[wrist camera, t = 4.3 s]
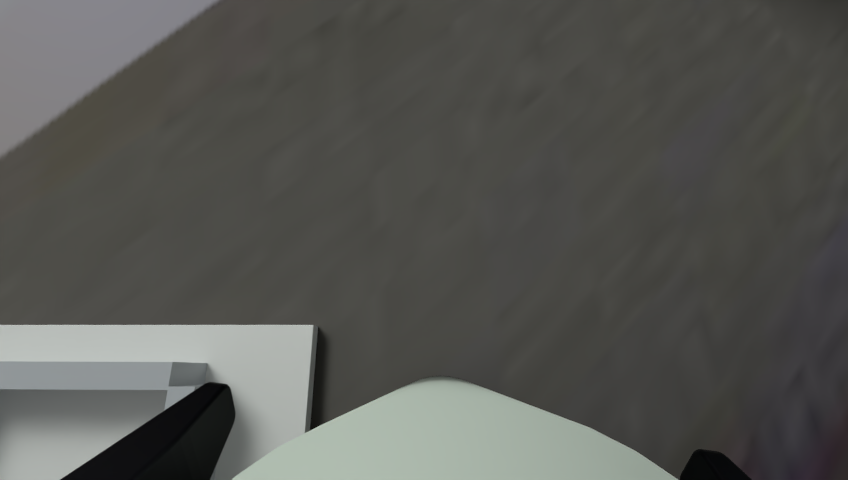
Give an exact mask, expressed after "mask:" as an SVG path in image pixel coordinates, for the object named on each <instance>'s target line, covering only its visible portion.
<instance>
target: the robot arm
mask: <svg viewBox="0 0 848 480" xmlns="http://www.w3.org/2000/svg"><path fill="white" fill-rule="evenodd" d="M235 414H236V413H235V407H234V402H233V397H232V393H231V388H230V387H229V386H228V384H223V383H216V382H208V383H205V384H203V385H202V386H200V387H199V388H197V389H196V390H194V391H193V392H191V393H190V394H188V395H187V396H185V397H184V398H182V399H181V400H179V401H178V402H176V403H175V404H173V405H172V406H170V407H169V408H167V409H166V410H164V411H163V412H161V413H160V414H158V415H157V416H155V417H154V418H152V419H151V420H149V421H148V422H146V423H145V424H143V425H142V426H140V427H138V428H137V429H135V430H134V431H132V432H131V433H129V434H128V435H126V436H125V437H123V438H122V439H120V440H119V441H117V442H116V443H114V444H113V445H111V446H110V447H108V448H107V449H105V450H104V451H102V452H101V453H99V454H98V455H96V456H95V457H93V458H92V459H90V460H89V461H87V462H86V463H84V464H83V465H81V466H80V467H78V468H77V469H75V470H74V471H72V472H71V473H69V474H68V475H66V476H65V477H63V478H62V479H60V480H210V479H211V477H212V474H213V472H214V469H215V467H216V465H217V462H218V460H219V457H220V455H221V453H222V450H223V448H224V446H225V443H226V441H227V438H228V436H229V434H230V431H231V429H232V427H233V424H234V421H235ZM680 480H752V479H750V478H749V477H748V476H747V475H746V474H745V473H744V472H743V471H742V470H741V469H740V468H739V467H737V466H736V465H735V464H734V463H733V462H732V461H731V460H730V459H729V458H728V457H726V456H725V455H724V454H722V453H720V452H717V451H710V450H703V449H698V450H696V451H694V452H693V454H692V456H691V457H690V459H689V461H688V463H687V464H686V466H685V468H684V470H683V471H682V473H681V476H680Z"/></svg>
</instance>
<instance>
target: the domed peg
mask: <svg viewBox="0 0 848 480" xmlns="http://www.w3.org/2000/svg"><path fill="white" fill-rule="evenodd" d="M232 480H678V479H676V478H675V477H673V476H672V475H671V474H669V473H668V472H666V471H665V470H663V469H662V468H660V467H659V466H657V465H656V464H654V463H653V462H651V461H650V460H648V459H647V458H645V457H644V456H642V455H641V454H639V453H638V452H636V451H635V450H633V449H631V448H629V447H627V446H625V445H623V444H621V443H619V442H617V441H615V440H613V439H611V438H609V437H607V436H605V435H603V434H601V433H599V432H597V431H595V430H593V429H591V428H589V427H587V426H584V425H581V424H579V423H576V422H573V421H571V420H568V419H565V418H563V417H560V416H557V415H555V414H552V413H549V412H547V411H544V410H541V409H539V408H536V407H533V406H531V405H528V404H525V403H523V402H520V401H518V400H515V399H512V398H510V397H507V396H504V395H502V394H499V393H496V392H494V391H491V390H488V389H486V388H483V387H480V386H478V385H475V384H472V383H470V382H467V381H464V380H462V379H459V378H455V377H450V376H432V377H427V378H423V379H420V380H417V381H415V382H413V383H411V384H408V385H406V386H404V387H402V388H400V389H398V390H395V391H393V392H391V393H389V394H387V395H385V396H383V397H380V398H378V399H376V400H374V401H372V402H370V403H367V404H365V405H363V406H361V407H359V408H357V409H355V410H352V411H350V412H348V413H346V414H344V415H342V416H340V417H337V418H335V419H333V420H331V421H329V422H327V423H324V424H322V425H320V426H318V427H316V428H314V429H312V430H310V431H308V432H306V433H305V434H303V435H301V436H299V437H297V438H295V439H293V440H291V441H289V442H287V443H285V444H283V445H281V446H279V447H277V448H276V449H274V450H273V451H271V452H270V453H268V454H267V455H266V456H264V457H263V458H261V459H260V460H258V461H257V462H255V463H254V464H252V465H251V466H250V467H248V468H247V469H245V470H244V471H242V472H241V473H239V474H238V475H236V476H235V477H234V478H233V479H232Z"/></svg>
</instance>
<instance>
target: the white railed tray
mask: <svg viewBox="0 0 848 480" xmlns="http://www.w3.org/2000/svg"><path fill="white" fill-rule="evenodd" d="M317 334H318V327H317V326H315V325H0V480H60V479H62V478H63V477H65V476H66V475H68V474H69V473H71V472H72V471H74V470H75V469H77V468H78V467H80V466H81V465H83V464H84V463H86V462H87V461H89V460H90V459H92V458H93V457H95V456H96V455H98V454H99V453H101V452H102V451H104V450H105V449H107V448H108V447H110V446H111V445H113V444H114V443H116V442H117V441H119V440H120V439H122V438H123V437H125V436H126V435H128V434H129V433H131V432H132V431H134V430H135V429H137V428H138V427H140V426H142V425H143V424H145V423H146V422H148V421H149V420H151V419H152V418H154V417H155V416H157V415H158V414H160V413H161V412H163V411H164V410H166V409H167V408H169V407H170V406H172V405H173V404H175V403H176V402H178V401H179V400H181V399H182V398H184V397H185V396H187V395H188V394H190V393H191V392H193V391H194V390H196V389H197V388H199V387H200V386H202V385H203V384H205V383H208V382H216V383H223V384H228V386H229V387H230V388H231V393H232V397H233V402H234V407H235V413H236V414H235V421H234V424H233V427H232V429H231V431H230V434H229V436H228V438H227V441H226V443H225V446H224V448H223V450H222V453H221V455H220V457H219V460H218V462H217V465H216V467H215V469H214V472H213V474H212V477H211V479H210V480H232V479H233V478H234V477H235V476H236V475H238V474H239V473H241V472H242V471H244V470H245V469H247V468H248V467H250V466H251V465H252V464H254V463H255V462H257V461H258V460H260V459H261V458H263V457H264V456H266V455H267V454H268V453H270V452H271V451H273V450H274V449H276V448H277V447H279V446H281V445H283V444H285V443H287V442H289V441H291V440H293V439H295V438H297V437H299V436H301V435H303V434H305V433H306V432H308V431H310V424H311V411H312V398H313V386H314V373H315V360H316V347H317Z"/></svg>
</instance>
